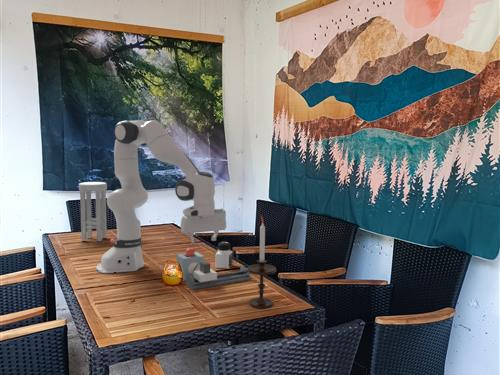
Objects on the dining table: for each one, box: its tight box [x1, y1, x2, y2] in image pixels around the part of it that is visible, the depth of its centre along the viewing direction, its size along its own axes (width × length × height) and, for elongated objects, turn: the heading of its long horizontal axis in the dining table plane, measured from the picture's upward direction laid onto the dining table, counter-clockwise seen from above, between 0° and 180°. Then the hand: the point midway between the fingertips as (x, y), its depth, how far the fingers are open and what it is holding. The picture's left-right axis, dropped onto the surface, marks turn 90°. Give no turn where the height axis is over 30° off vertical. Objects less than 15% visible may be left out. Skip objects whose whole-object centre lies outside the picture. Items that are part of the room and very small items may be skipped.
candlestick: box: [247, 215, 277, 310], centre depth 168 cm, size 11×11×35 cm
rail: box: [185, 265, 251, 291], centre depth 195 cm, size 28×8×4 cm, turn 120°
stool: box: [78, 181, 108, 242], centre depth 268 cm, size 16×16×35 cm
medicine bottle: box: [214, 241, 234, 270], centre depth 218 cm, size 7×7×12 cm
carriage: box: [193, 260, 218, 282], centre depth 191 cm, size 8×7×7 cm
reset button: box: [185, 247, 196, 257], centre depth 201 cm, size 4×4×4 cm
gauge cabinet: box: [176, 251, 205, 282], centre depth 201 cm, size 10×9×10 cm
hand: (203, 241), depth 190 cm, fingers open, 8 cm apart
